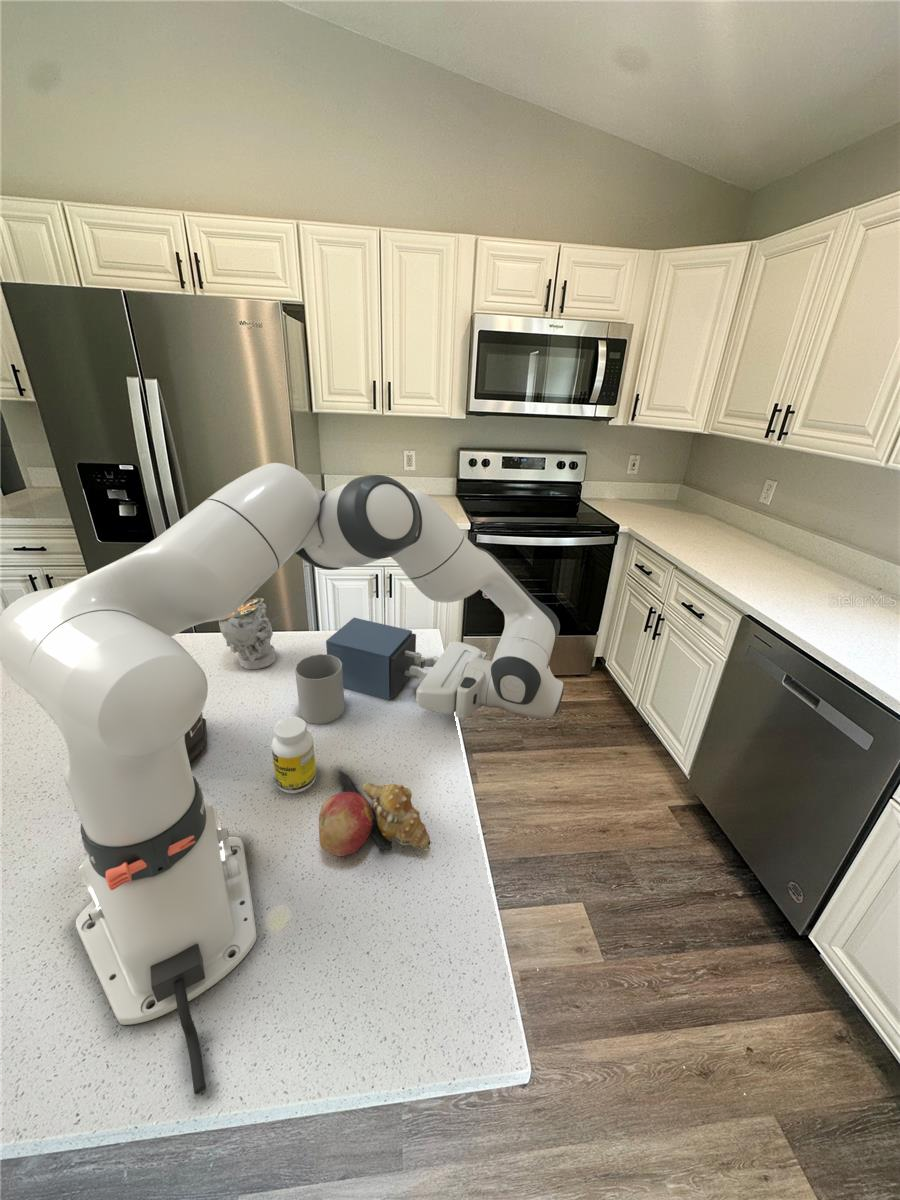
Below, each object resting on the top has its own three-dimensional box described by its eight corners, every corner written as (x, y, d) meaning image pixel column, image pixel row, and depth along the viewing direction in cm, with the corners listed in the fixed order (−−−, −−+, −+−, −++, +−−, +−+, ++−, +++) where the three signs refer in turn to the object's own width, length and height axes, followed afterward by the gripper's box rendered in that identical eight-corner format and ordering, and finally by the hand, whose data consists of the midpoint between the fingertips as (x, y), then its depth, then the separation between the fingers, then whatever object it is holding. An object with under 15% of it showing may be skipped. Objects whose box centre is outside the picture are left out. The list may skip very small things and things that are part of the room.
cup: (349, 698, 98) (347, 656, 94) (337, 725, 91) (334, 681, 86) (308, 694, 99) (304, 652, 94) (293, 721, 91) (287, 676, 87)
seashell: (379, 839, 74) (441, 837, 72) (354, 859, 67) (422, 858, 64) (374, 776, 76) (434, 772, 73) (349, 788, 68) (415, 784, 66)
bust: (291, 662, 106) (267, 601, 101) (241, 683, 102) (214, 620, 96) (282, 648, 115) (259, 591, 110) (236, 666, 111) (211, 608, 106)
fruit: (336, 772, 68) (345, 820, 62) (377, 787, 73) (389, 833, 66) (302, 808, 70) (307, 859, 63) (344, 821, 74) (353, 870, 67)
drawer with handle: (429, 673, 106) (431, 637, 102) (409, 701, 97) (410, 663, 93) (360, 656, 111) (359, 621, 107) (335, 681, 102) (332, 643, 98)
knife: (399, 843, 68) (380, 852, 66) (398, 848, 68) (379, 856, 67) (346, 765, 81) (329, 770, 80) (346, 769, 82) (329, 774, 80)
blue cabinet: (411, 672, 108) (412, 630, 103) (389, 700, 98) (388, 656, 94) (355, 657, 112) (353, 617, 107) (329, 683, 102) (325, 640, 98)
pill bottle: (268, 785, 77) (259, 731, 73) (296, 760, 82) (289, 708, 78) (297, 801, 75) (290, 746, 70) (324, 774, 80) (320, 721, 75)
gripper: (493, 642, 103) (432, 628, 107) (462, 696, 86) (391, 678, 89) (491, 667, 106) (431, 653, 110) (460, 725, 88) (391, 705, 92)
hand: (413, 664), depth 99 cm, fingers closed on drawer with handle
